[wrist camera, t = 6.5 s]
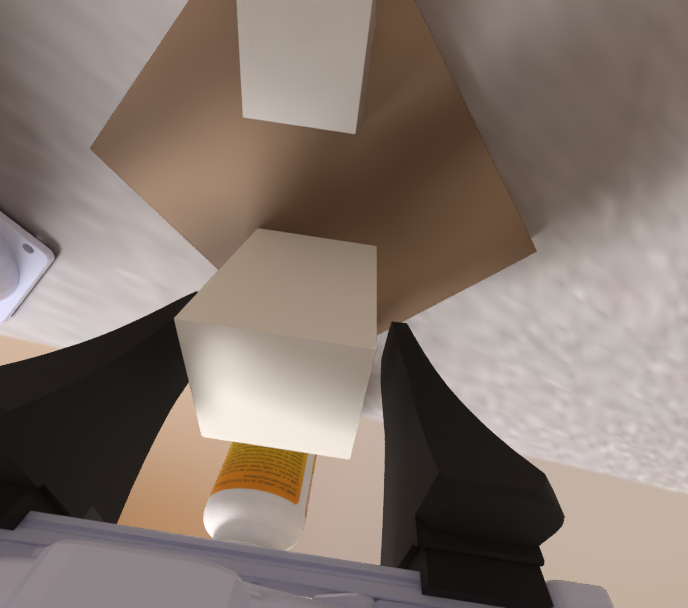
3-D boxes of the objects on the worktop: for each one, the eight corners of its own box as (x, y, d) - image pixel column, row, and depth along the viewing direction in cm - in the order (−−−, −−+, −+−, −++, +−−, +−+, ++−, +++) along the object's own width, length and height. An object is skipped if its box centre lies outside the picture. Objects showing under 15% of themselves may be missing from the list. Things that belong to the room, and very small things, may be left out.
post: (289, 111, 11) (242, 117, 7) (291, 10, 9) (233, -50, 6) (362, 122, 11) (355, 134, 7) (376, 23, 9) (376, -30, 6)
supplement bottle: (235, 393, 21) (148, 572, 13) (307, 382, 20) (260, 574, 12) (267, 438, 24) (212, 610, 16) (332, 431, 23) (308, 614, 15)
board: (108, 145, 13) (89, 148, 12) (326, -165, 8) (319, -196, 7) (321, 353, 18) (319, 365, 17) (527, 242, 14) (536, 251, 13)
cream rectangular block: (261, 322, 16) (202, 436, 11) (257, 228, 13) (173, 318, 8) (358, 337, 16) (349, 459, 11) (376, 246, 13) (376, 349, 8)
